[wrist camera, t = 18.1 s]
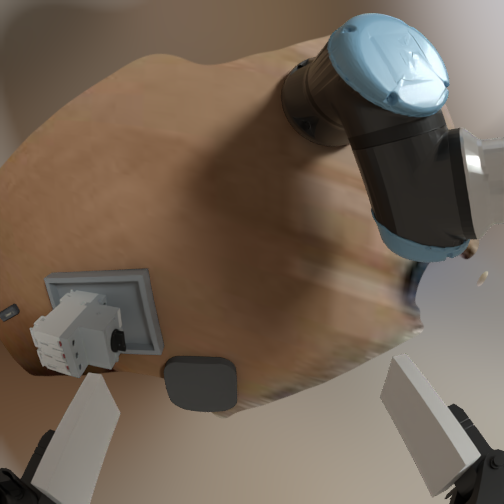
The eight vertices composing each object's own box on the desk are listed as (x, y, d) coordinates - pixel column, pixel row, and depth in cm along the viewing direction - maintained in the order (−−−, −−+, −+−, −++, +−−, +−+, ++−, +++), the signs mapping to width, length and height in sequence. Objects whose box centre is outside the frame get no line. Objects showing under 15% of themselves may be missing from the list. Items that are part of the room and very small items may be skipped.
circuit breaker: (139, 334, 48) (113, 386, 34) (77, 322, 47) (41, 365, 32) (136, 299, 46) (103, 348, 31) (71, 289, 45) (28, 328, 30)
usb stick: (5, 320, 48) (2, 323, 46) (0, 311, 47) (-3, 314, 45) (21, 311, 47) (18, 314, 45) (16, 302, 46) (12, 304, 45)
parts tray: (147, 268, 45) (142, 274, 42) (164, 345, 50) (161, 354, 47) (51, 272, 44) (43, 278, 41) (73, 340, 49) (67, 348, 46)
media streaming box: (163, 353, 51) (159, 362, 48) (236, 355, 52) (236, 365, 49) (173, 401, 55) (171, 410, 52) (237, 403, 56) (237, 413, 53)
